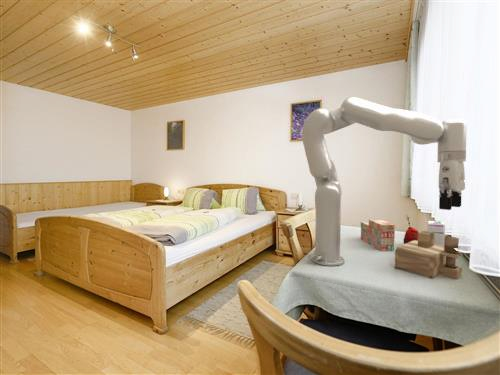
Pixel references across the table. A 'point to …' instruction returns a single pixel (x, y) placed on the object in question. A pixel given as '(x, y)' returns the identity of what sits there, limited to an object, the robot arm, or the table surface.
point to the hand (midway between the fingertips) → (450, 208)
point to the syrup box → (437, 231)
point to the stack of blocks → (378, 234)
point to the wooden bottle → (450, 250)
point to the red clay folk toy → (410, 234)
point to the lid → (426, 246)
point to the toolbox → (425, 265)
